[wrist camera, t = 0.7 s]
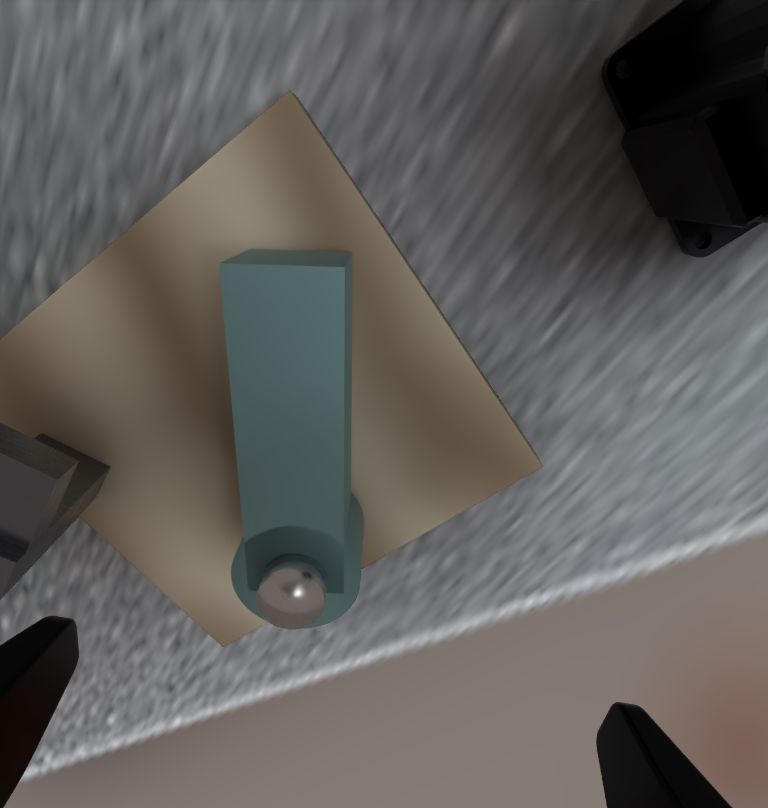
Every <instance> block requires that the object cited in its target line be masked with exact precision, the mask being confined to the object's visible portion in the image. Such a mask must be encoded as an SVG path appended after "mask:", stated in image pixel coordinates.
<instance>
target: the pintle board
mask: <svg viewBox="0 0 768 808" xmlns="http://www.w3.org/2000/svg"><path fill="white" fill-rule="evenodd" d="M249 249H271V250H301V251H331V252H353V283H352V413H351V493H352V494H353V495H354V496H355V497H356V499H357V500H358V502H359V504H360V506H361V508H362V511H363V515H364V537H363V550H362V564H361V569H362V568H364V567H366V566H368V565H370V564H371V563H373V562H375V561H377V560H378V559H380V558H382V557H384V556H385V555H387V554H389V553H391V552H393V551H394V550H396V549H398V548H400V547H401V546H403V545H405V544H407V543H408V542H410V541H412V540H414V539H415V538H417V537H419V536H421V535H423V534H424V533H426V532H428V531H430V530H431V529H433V528H435V527H437V526H438V525H440V524H442V523H444V522H446V521H447V520H449V519H451V518H453V517H454V516H456V515H458V514H460V513H461V512H463V511H465V510H467V509H469V508H470V507H472V506H474V505H476V504H477V503H479V502H481V501H483V500H484V499H486V498H488V497H490V496H492V495H493V494H495V493H497V492H499V491H500V490H502V489H504V488H506V487H507V486H509V485H511V484H513V483H515V482H516V481H518V480H520V479H522V478H523V477H525V476H527V475H529V474H530V473H532V472H534V471H536V470H538V469H539V468H541V467H543V466H542V464H541V462H540V460H539V459H538V457H537V455H536V453H535V451H534V450H533V448H532V447H531V445H530V444H529V442H528V441H527V439H526V438H525V436H524V435H523V433H522V432H521V430H520V429H519V427H518V426H517V424H516V423H515V421H514V420H513V418H512V417H511V415H510V414H509V412H508V411H507V409H506V408H505V406H504V405H503V403H502V402H501V400H500V399H499V397H498V396H497V394H496V393H495V391H494V390H493V388H492V387H491V385H490V384H489V382H488V381H487V379H486V378H485V376H484V375H483V373H482V372H481V371H480V369H479V368H478V366H477V365H476V363H475V362H474V360H473V359H472V357H471V356H470V354H469V353H468V351H467V350H466V348H465V347H464V345H463V344H462V342H461V341H460V339H459V338H458V336H457V335H456V333H455V332H454V330H453V329H452V327H451V326H450V324H449V323H448V321H447V320H446V318H445V317H444V315H443V314H442V312H441V311H440V309H439V308H438V306H437V305H436V303H435V302H434V300H433V299H432V297H431V296H430V294H429V293H428V291H427V290H426V288H425V287H424V285H423V284H422V282H421V281H420V279H419V278H418V276H417V275H416V274H415V272H414V271H413V269H412V268H411V266H410V265H409V263H408V262H407V260H406V259H405V257H404V256H403V254H402V253H401V251H400V250H399V248H398V247H397V245H396V244H395V242H394V241H393V239H392V238H391V236H390V235H389V233H388V232H387V230H386V229H385V227H384V226H383V224H382V223H381V221H380V220H379V218H378V217H377V215H376V214H375V212H374V211H373V209H372V208H371V206H370V205H369V203H368V202H367V200H366V199H365V197H364V196H363V194H362V193H361V191H360V190H359V188H358V187H357V185H356V184H355V182H354V181H353V179H352V178H351V177H350V175H349V174H348V172H347V171H346V169H345V168H344V166H343V165H342V163H341V162H340V160H339V159H338V157H337V156H336V154H335V153H334V151H333V150H332V148H331V147H330V145H329V144H328V142H327V141H326V139H325V138H324V136H323V135H322V133H321V132H320V130H319V129H318V127H317V126H316V124H315V123H314V121H313V120H312V118H311V117H310V115H309V114H308V112H307V111H306V109H305V108H304V106H303V105H302V103H301V102H300V100H299V99H298V97H297V96H296V95H295V94H294V93H292V92H291V91H290V90H289V91H288V92H287V93H286V94H285V95H284V96H282V97H281V98H280V99H279V100H278V101H277V102H275V103H274V104H273V105H272V106H271V107H270V108H268V109H267V110H266V111H265V112H264V113H263V114H261V115H260V116H259V117H258V118H257V119H256V120H255V121H253V122H252V123H251V124H250V125H249V126H248V127H246V128H245V129H244V130H243V131H242V132H241V133H239V134H238V135H237V136H236V137H235V138H234V139H232V140H231V141H230V142H229V143H228V144H227V145H225V146H224V147H223V148H222V149H221V150H220V151H218V152H217V153H216V154H215V155H214V156H213V157H211V158H210V159H209V160H208V161H207V162H206V163H204V164H203V165H202V166H201V167H200V168H199V169H197V170H196V171H195V172H194V173H193V174H192V175H191V176H189V177H188V178H187V179H186V180H185V181H184V182H182V183H181V184H180V185H179V186H178V187H177V188H175V189H174V190H173V191H172V192H171V193H170V194H168V195H167V196H166V197H165V198H164V199H163V200H161V201H160V202H159V203H158V204H157V205H156V206H154V207H153V208H152V209H151V210H150V211H149V212H147V213H146V214H145V215H144V216H143V217H142V218H140V219H139V220H138V221H137V222H136V223H135V224H134V225H132V226H131V227H130V228H129V229H128V230H127V231H125V232H124V233H123V234H122V235H121V236H120V237H118V238H117V239H116V240H115V241H114V242H113V243H111V244H110V245H109V246H108V247H107V248H106V249H104V250H103V251H102V252H101V253H100V254H99V255H97V256H96V257H95V258H94V259H93V260H92V261H90V262H89V263H88V264H87V265H86V266H85V267H83V268H82V269H81V270H80V271H79V272H78V273H77V274H75V275H74V276H73V277H72V278H71V279H70V280H68V281H67V282H66V283H65V284H64V285H63V286H61V287H60V288H59V289H58V290H57V291H56V292H54V293H53V294H52V295H51V296H50V297H49V298H47V299H46V300H45V301H44V302H43V303H42V304H40V305H39V306H38V307H37V308H36V309H35V310H33V311H32V312H31V313H30V314H29V315H28V316H26V317H25V318H24V319H23V320H22V321H21V322H19V323H18V324H17V325H16V326H15V327H14V328H13V329H11V330H10V331H9V332H8V333H7V334H6V335H4V336H3V337H2V338H1V339H0V600H1V599H2V598H3V597H4V596H5V594H6V593H7V592H8V591H9V590H10V589H11V588H12V587H13V586H14V585H15V584H16V583H17V582H18V581H19V579H20V578H21V577H22V576H23V575H24V574H25V573H26V572H27V571H28V570H29V569H30V568H31V567H32V566H33V564H34V563H35V562H36V561H37V560H38V559H39V558H40V557H41V556H42V555H43V554H44V553H45V552H46V551H47V550H48V548H49V547H50V546H51V545H52V544H53V543H54V542H55V541H56V540H57V539H58V538H59V537H60V536H61V535H62V533H63V532H64V531H65V530H66V529H67V528H68V527H69V526H70V525H71V524H72V523H73V522H74V521H75V520H76V518H77V517H78V516H79V517H80V518H81V519H83V520H84V521H85V522H86V523H87V524H88V525H89V526H90V527H91V528H92V529H94V530H95V531H96V532H97V533H98V534H99V535H100V536H101V537H102V538H103V539H105V540H106V541H107V542H108V543H109V544H110V545H111V546H112V547H113V548H114V549H116V550H117V551H118V552H119V553H120V554H121V555H122V556H123V557H124V558H125V559H127V560H128V561H129V562H130V563H131V564H132V565H133V566H134V567H135V568H136V569H138V570H139V571H140V572H141V573H142V574H143V575H144V576H145V577H146V578H147V579H149V580H150V581H151V582H152V583H153V584H154V585H155V586H156V587H157V588H158V589H160V590H161V591H162V592H163V593H164V594H165V595H166V596H167V597H168V598H169V599H171V600H172V601H173V602H174V603H175V604H176V605H177V606H178V607H179V608H180V609H182V610H183V611H184V612H185V613H186V614H187V615H188V616H189V617H190V618H191V619H193V620H194V621H195V622H196V623H197V624H198V625H199V626H200V627H201V628H202V629H204V630H205V631H206V632H207V633H208V634H209V635H210V636H211V637H212V638H213V639H215V640H216V641H217V642H218V643H219V644H220V645H221V646H222V647H224V646H226V645H228V644H230V643H232V642H233V641H235V640H237V639H239V638H240V637H242V636H244V635H246V634H247V633H249V632H251V631H253V630H255V629H256V628H258V627H260V626H262V625H263V624H265V623H267V621H265V620H263V619H261V618H260V617H258V616H256V615H255V614H253V613H252V612H251V611H250V610H249V609H247V608H246V607H245V605H244V604H243V603H242V602H241V601H240V599H239V598H238V596H237V594H236V593H235V591H234V588H233V585H232V580H231V566H232V562H233V559H234V556H235V554H236V551H237V549H238V547H239V544H240V542H241V539H242V537H243V526H242V514H241V503H240V492H239V480H238V469H237V458H236V446H235V435H234V424H233V412H232V401H231V390H230V378H229V367H228V356H227V344H226V333H225V322H224V310H223V299H222V288H221V276H220V265H219V263H221V262H223V261H225V260H227V259H229V258H231V257H234V256H236V255H238V254H240V253H242V252H244V251H246V250H249Z"/></svg>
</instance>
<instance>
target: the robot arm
mask: <svg viewBox="0 0 768 808" xmlns="http://www.w3.org/2000/svg"><path fill="white" fill-rule="evenodd" d="M620 60H622V61H625V62H626V63H627V64H628V67H629V72H628V75H627V77H626V78H625V79H621V78H619V77H618V76H617V74H616V67H617V63H618V62H619V61H620ZM601 76H602V81H603V84H604V86H605V88H606V90H607V92H608V94H609V97H610V99H611V101H612V103H613V105H614V107H615V109H616V111H617V114H618V116H619V118H620V120H621V122H622V124H623V126H624V128H625V130H626V131H625V132H624V134H623V138H622V142H621V145H622V147H623V149H624V151H625V153H626V155H627V157H628V159H629V162H630V164H631V166H632V168H633V170H634V172H635V174H636V176H637V178H638V180H639V182H640V184H641V187H642V189H643V191H644V193H645V195H646V197H647V199H648V201H649V203H650V205H651V207H652V210H653V212H654V214H655V215H656V216H657V217H662V218H667V219H668V222H669V224H670V226H671V228H672V230H673V232H674V234H675V236H676V238H677V241H678V243H679V245H680V247H681V249H682V250H683V251H684V253H685V254H688V255H690V256H694V257H705V256H708V255H710V254H712V253H713V252H715V251H717V250H718V249H720V248H721V247H723V246H725V245H726V244H728V243H729V242H731V241H733V240H734V239H736V238H738V237H739V236H741V235H742V234H744V233H746V232H747V231H749V230H750V229H752V228H754V227H755V226H757V225H759V224H760V223H762V222H764V223H768V0H683V1H682V2H681V3H679V4H678V5H676V6H675V7H674V8H672V9H671V10H670V11H668V12H667V13H666V14H664V15H663V16H662V17H660V18H659V19H658V20H656V21H655V22H654V23H652V24H651V25H650V26H648V27H647V28H646V29H644V30H643V31H642V32H640V33H639V34H638V35H636V36H635V37H633V38H632V39H631V40H629V41H628V42H627V43H625V44H624V45H623V46H621V47H620V48H619V49H617V50H616V51H615V52H613V53H612V54H611V55H610V56H609V57H608V58H607V59H606V61H605V63H604V65H603V67H602V74H601ZM700 233H704V234H705V240H704V243H703V244H702V245H701V246H700V247H696V245H695V240H696V238H697V236H698V235H699V234H700ZM78 658H79V648H78V637H77V626H76V622H75V621H74V620H73V619H71V618H64V617H58V616H48V617H45V618H43V619H41V620H39V621H38V622H36V623H35V624H33V625H32V626H30V627H28V628H27V629H25V630H24V631H22V632H21V633H19V634H17V635H16V636H14V637H13V638H11V639H10V640H8V641H6V642H5V643H3V644H2V645H0V808H3V807H4V806H5V804H6V802H7V801H8V799H9V797H10V796H11V794H12V793H13V791H14V789H15V788H16V786H17V784H18V782H19V781H20V779H21V777H22V775H23V774H24V772H25V770H26V768H27V766H28V764H29V762H30V760H31V758H32V757H33V755H34V753H35V751H36V749H37V746H38V744H39V742H40V740H41V738H42V736H43V734H44V732H45V730H46V728H47V726H48V724H49V722H50V720H51V718H52V716H53V714H54V712H55V710H56V708H57V706H58V703H59V701H60V699H61V697H62V695H63V693H64V691H65V689H66V687H67V685H68V683H69V681H70V679H71V677H72V675H73V673H74V671H75V668H76V666H77V663H78ZM596 744H597V752H598V758H599V763H600V769H601V775H602V781H603V786H604V792H605V798H606V804H607V808H732V807H731V806H730V805H729V804H728V803H727V801H726V800H725V799H724V798H723V797H722V796H721V795H720V794H719V793H718V792H717V790H716V789H715V788H714V787H713V786H712V785H711V784H710V783H709V781H708V780H706V778H705V777H704V776H703V775H702V774H701V773H700V771H699V770H698V769H697V768H696V767H695V766H694V765H693V764H692V763H691V762H690V760H689V759H688V758H687V757H686V756H685V755H684V754H683V753H682V752H681V750H680V749H679V748H678V747H677V746H676V745H675V744H674V743H673V742H672V740H671V739H670V738H669V737H668V736H667V735H666V734H665V733H664V732H663V730H662V729H661V728H660V727H659V726H658V725H657V724H656V723H655V722H654V720H653V719H652V718H651V717H650V716H649V715H648V714H647V713H646V712H645V711H644V710H643V709H642V708H641V707H640V706H637V705H634V704H628V703H621V702H616V703H614V704H613V705H612V706H611V707H610V709H609V711H608V713H607V715H606V717H605V719H604V721H603V723H602V725H601V727H600V728H599V730H598V733H597V741H596Z"/></svg>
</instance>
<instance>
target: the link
mask: <svg viewBox="0 0 768 808" xmlns="http://www.w3.org/2000/svg"><path fill="white" fill-rule="evenodd" d="M219 265H220V276H221V288H222V299H223V310H224V322H225V333H226V344H227V356H228V367H229V378H230V390H231V401H232V412H233V424H234V435H235V446H236V458H237V469H238V480H239V492H240V503H241V514H242V526H243V537H242V539H241V542H240V544H239V547H238V549H237V551H236V554H235V556H234V559H233V562H232V566H231V580H232V585H233V588H234V591H235V593H236V594H237V596H238V598H239V599H240V601H241V602H242V603H243V604H244V605H245V607H246V608H247V609H249V610H250V611H251V612H252V613H253V614H255V615H256V616H258V617H260V618H261V619H263V620H265V621H267V622H269V623H271V624H273V625H275V626H277V627H281V628H285V629H300V628H311V627H317V626H321V625H324V624H327V623H330V622H332V621H334V620H336V619H337V618H339V617H340V616H342V615H343V614H344V613H345V612H346V611H347V610H348V609H349V608H350V607H351V606H352V604H353V603H354V601H355V600H356V597H357V595H358V592H359V588H360V577H361V564H362V550H363V537H364V515H363V511H362V508H361V506H360V504H359V502H358V500H357V499H356V497H355V496H354V495H353V494H352V493H351V413H352V283H353V252H331V251H301V250H271V249H249V250H246V251H244V252H242V253H240V254H238V255H236V256H234V257H231V258H229V259H227V260H225V261H223V262H221V263H219Z"/></svg>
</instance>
